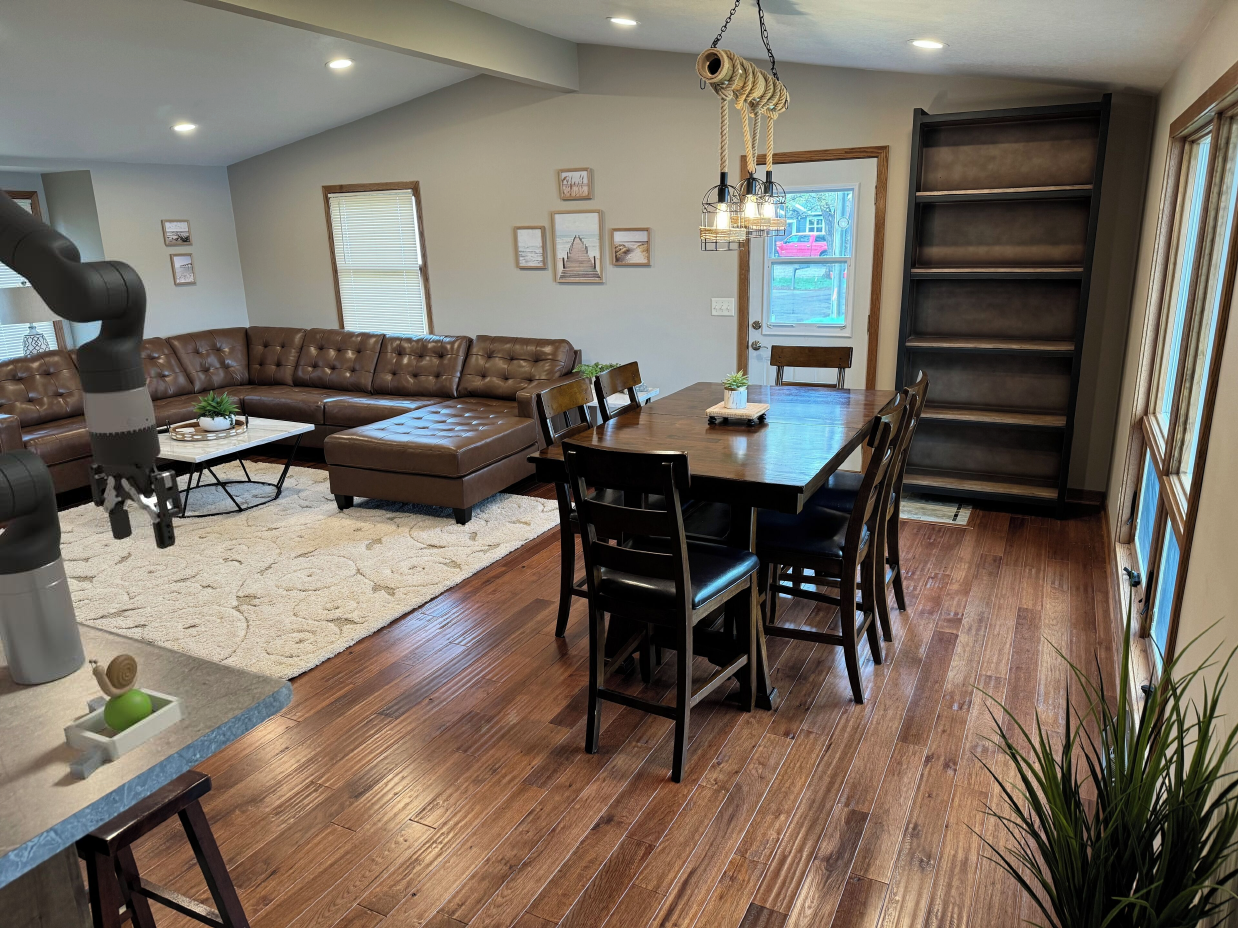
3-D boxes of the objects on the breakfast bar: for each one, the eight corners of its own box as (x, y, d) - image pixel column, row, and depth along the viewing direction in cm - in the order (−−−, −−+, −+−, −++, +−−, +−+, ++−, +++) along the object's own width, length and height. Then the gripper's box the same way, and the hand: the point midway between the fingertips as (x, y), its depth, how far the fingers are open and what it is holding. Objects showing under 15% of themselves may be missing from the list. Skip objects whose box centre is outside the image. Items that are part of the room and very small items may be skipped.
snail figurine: (92, 743, 108) (72, 659, 105) (129, 715, 114) (111, 634, 111) (129, 747, 107) (110, 662, 104) (164, 718, 113) (147, 637, 110)
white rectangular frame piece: (12, 755, 106) (7, 738, 105) (120, 696, 119) (117, 680, 118) (81, 781, 101) (77, 762, 100) (187, 716, 114) (184, 699, 113)
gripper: (186, 421, 108) (206, 540, 113) (113, 412, 114) (134, 525, 119) (131, 435, 101) (155, 560, 106) (57, 424, 107) (82, 544, 112)
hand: (144, 542), depth 112 cm, fingers open, 8 cm apart
